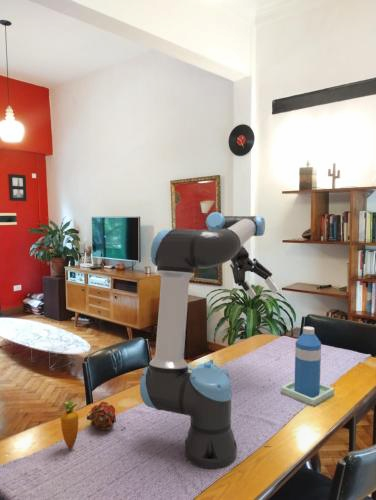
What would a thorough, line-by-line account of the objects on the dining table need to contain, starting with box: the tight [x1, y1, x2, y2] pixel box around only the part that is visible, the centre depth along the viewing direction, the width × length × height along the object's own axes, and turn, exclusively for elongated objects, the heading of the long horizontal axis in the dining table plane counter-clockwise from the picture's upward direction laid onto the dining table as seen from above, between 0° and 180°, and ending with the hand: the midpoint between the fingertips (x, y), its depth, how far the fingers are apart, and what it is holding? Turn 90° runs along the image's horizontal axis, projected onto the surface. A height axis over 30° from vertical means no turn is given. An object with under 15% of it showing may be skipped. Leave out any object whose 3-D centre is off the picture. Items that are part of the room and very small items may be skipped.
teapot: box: [188, 359, 231, 379], centre depth 152 cm, size 15×17×11 cm
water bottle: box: [294, 326, 322, 398], centre depth 148 cm, size 9×9×25 cm
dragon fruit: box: [85, 401, 117, 431], centre depth 128 cm, size 8×8×12 cm
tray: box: [280, 380, 335, 408], centre depth 150 cm, size 14×14×2 cm
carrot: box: [60, 398, 79, 450], centre depth 115 cm, size 5×5×15 cm
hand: (265, 294), depth 151 cm, fingers open, 13 cm apart
